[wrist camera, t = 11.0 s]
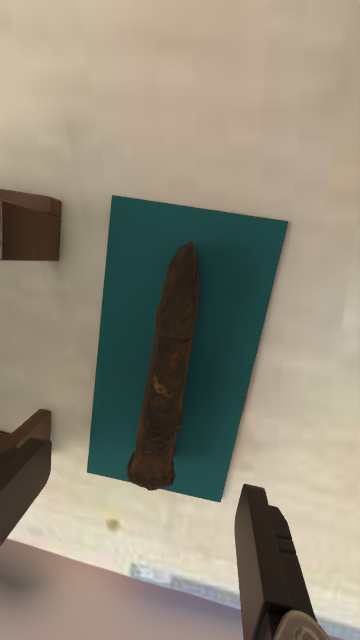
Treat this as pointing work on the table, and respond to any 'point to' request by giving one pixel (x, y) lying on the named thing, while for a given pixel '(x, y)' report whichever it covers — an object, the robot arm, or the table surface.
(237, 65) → the table surface
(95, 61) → the table surface
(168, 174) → the table surface
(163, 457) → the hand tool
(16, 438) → the rack
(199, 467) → the mat
